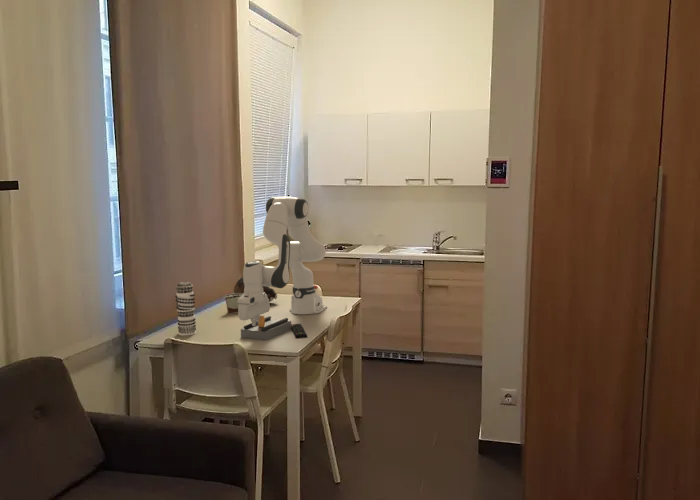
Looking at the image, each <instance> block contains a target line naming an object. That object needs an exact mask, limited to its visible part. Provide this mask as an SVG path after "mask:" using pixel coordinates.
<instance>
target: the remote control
mask: <svg viewBox="0 0 700 500" xmlns="http://www.w3.org/2000/svg"><path fill="white" fill-rule="evenodd" d="M290 330H291V331H292V333H293V335H294V336H295V339H306V338H308V334H307V333H306V331H305V329H304V327H303V325H302V324H301V323H291V329H290Z"/></svg>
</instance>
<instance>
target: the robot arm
mask: <svg viewBox="0 0 700 500" xmlns="http://www.w3.org/2000/svg"><path fill="white" fill-rule="evenodd" d="M265 212H266V216H265V220H264V224H263V228H262V234H263V236H264V238H265V239H266V240H267V241H268V242H269V243H272V244H273V245H275V246H277V248H278V256H277V257H278V261H277V265H276V266H269V265H263V264H262V263H261V261H259V260H250V261H247V262H246V263H244V266H243V274H242V276H243V277H242V278H243V280H244V284H245V288H244V293H243V294H242V296H241V297H239V298H238V303H240V304H239V306H238V312H237V313H238V319H239V320H240V321H249V320H250V323H252V326H256V325H259V319H260V315H261V316H262V315H264V314H266V313H269V311H270V309H271V307H270V302H269V299H268V296H267V294H266V293H263V287H262V286H268V287H269V288H270V287H271V288H277V289H283V288H285V287H286V286H287V285H288V284H289V282H290V277H291V276H292V283H293V284H292V285H293V286H292V296H291V302H290V303H291V304H290V305H291V306H290V308H289V312H291V313H292V314H294V315H312V314H320V313H322V312H323V311H324V310H325V309H327V308H328V305H325V304H323V297H322V296H320V295H319V294H318V293H317V291H316V290H317V289H318V288H319V287H318V285H315V284H314V273H313V271H312V270H311V269H310V268H308V267H306V266H305V265H304V264H303V263H304V262H306V263H307V262H309V263H310V262H313V263H314V262H317V261H322V260H323V259H324V258H325V256H326V251H327V250H326V247H325V245H324V243H322V242H321V241H319V240H318V239H316V238H315V237H314V236H313V234H312V233H311V230H310V226H309V222H308V217H307V216H308V213H309V204H308V201H307V200H306V199H304V198H301V197H293V196H272V197H269V199H267V201H266V203H265ZM287 231H288V232H287ZM287 233H288V234H287ZM291 239H293V240H294V241H291ZM290 271H291V273H290ZM290 274H292V275H291V276H290Z"/></svg>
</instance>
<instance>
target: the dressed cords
mask: <svg viewBox="0 0 700 500" xmlns="http://www.w3.org/2000/svg"><path fill="white" fill-rule="evenodd" d="M264 319H265V321H267V320H270V319H272V317H271V316H270V315H268V316H267V317H264ZM279 320H280V321H278V322H275V323H273V324H270V325H268V326H265V327H263V328H262V329H261V330H262V331H265V330H267V329H270V328H272V327H274V326H277V325H279V324H281V323H284V322H286V321H289V318H288V317H284V318H283V319H279ZM250 327H252V322H250V323H249V324H246V325H244V326H243V328H244V329H247V328H250Z"/></svg>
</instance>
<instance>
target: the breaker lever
mask: <svg viewBox="0 0 700 500" xmlns="http://www.w3.org/2000/svg"><path fill="white" fill-rule="evenodd" d="M264 318H265V315H262V314H261V315H260V319H259V325H258V327H264V326H265V319H264Z"/></svg>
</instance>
